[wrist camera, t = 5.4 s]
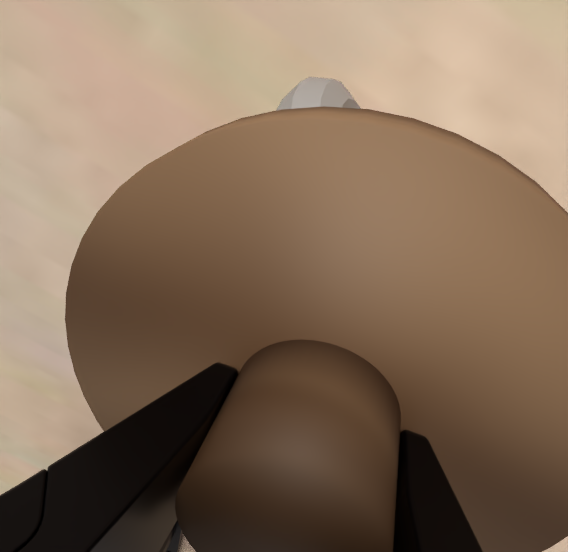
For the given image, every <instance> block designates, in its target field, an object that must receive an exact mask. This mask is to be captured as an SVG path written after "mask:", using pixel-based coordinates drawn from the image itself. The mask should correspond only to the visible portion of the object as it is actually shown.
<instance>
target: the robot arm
mask: <svg viewBox="0 0 568 552" xmlns="http://www.w3.org/2000/svg"><path fill="white" fill-rule="evenodd" d="M237 375H238V371H237V369H236V368H234V367H231V366H228V365H226V364H223V363H220V362H217V363H214V364H212V365H211V366H209V367H208V368H206V369H204V370H203V371H201V372H199V373H198V374H196V375H195V376H193V377H191V378H190V379H188V380H187V381H185V382H183V383H182V384H180V385H179V386H177V387H175V388H174V389H172V390H171V391H169V392H167V393H166V394H164V395H162V396H161V397H159V398H158V399H156V400H154V401H153V402H151V403H150V404H148V405H146V406H145V407H143V408H142V409H140V410H138V411H137V412H135V413H134V414H132V415H130V416H129V417H127V418H125V419H124V420H122V421H121V422H119V423H117V424H116V425H114V426H113V427H111V428H109V429H108V430H106V431H105V432H103V433H101V434H100V435H98V436H97V437H95V438H93V439H92V440H90V441H88V442H87V443H85V444H84V445H82V446H80V447H79V448H77V449H76V450H74V451H72V452H71V453H69V454H68V455H66V456H64V457H63V458H61V459H60V460H58V461H56V462H55V463H53V464H51V465H50V466H49V467H48V470H45V469H43V470H41V471H40V472H38V473H37V474H35V475H33V476H32V477H30V478H29V479H27V480H25V481H24V482H22V483H20V484H19V485H17V486H15V487H14V488H12V489H10V490H9V491H7V492H5V493H4V494H2V495H0V552H179V548H180V543H181V538H182V530H181V528H180V526H179V523H178V520H177V517H176V510H175V500H176V496H177V492H178V490H179V488H180V486H181V484H182V482H183V480H184V478H185V476H186V474H187V472H188V470H189V468H190V467H191V465H192V463H193V461H194V459H195V457H196V455H197V453H198V451H199V449H200V447H201V445H202V443H203V442H204V440H205V438H206V436H207V434H208V432H209V430H210V428H211V426H212V424H213V422H214V420H215V418H216V416H217V415H218V413H219V411H220V409H221V407H222V405H223V403H224V401H225V399H226V397H227V395H228V393H229V391H230V390H231V388H232V386H233V384H234V382H235V380H236V378H237ZM393 552H483V550H482V548H481V546H480V544H479V542H478V540H477V538H476V536H475V534H474V532H473V530H472V528H471V526H470V524H469V522H468V520H467V518H466V516H465V514H464V512H463V510H462V507H461V505H460V503H459V501H458V499H457V497H456V495H455V493H454V491H453V489H452V487H451V485H450V483H449V481H448V479H447V477H446V475H445V473H444V471H443V469H442V467H441V465H440V462H439V460H438V458H437V456H436V454H435V452H434V450H433V448H432V446H431V444H430V442H429V440H428V439H427V438H426V437H425V436H423V435H421V434H418V433H415V432H412V431H410V430H403V431H402V432H401V433H400V443H399V460H398V476H397V493H396V509H395V526H394V542H393Z"/></svg>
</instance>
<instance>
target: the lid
mask: <svg viewBox="0 0 568 552" xmlns="http://www.w3.org/2000/svg"><path fill="white" fill-rule="evenodd" d="M65 322H66V331H67V340H68V347H69V351H70V355H71V359H72V363H73V367H74V371H75V374H76V377H77V379H78V382H79V384H80V387H81V389H82V392H83V395H84V397H85V399H86V401H87V403H88V405H89V407H90V408H91V410H92V412H93V414H94V416H95V418H96V420H97V421H98V423H99V424H100V426H101V427H102V429H103V430H104V432H105V431H106V430H108V429H109V428H111V427H113V426H114V425H116V424H117V423H119V422H121V421H122V420H124V419H125V418H127V417H129V416H130V415H132V414H134V413H135V412H137V411H138V410H140V409H142V408H143V407H145V406H146V405H148V404H150V403H151V402H153V401H154V400H156V399H158V398H159V397H161V396H162V395H164V394H166V393H167V392H169V391H171V390H172V389H174V388H175V387H177V386H179V385H180V384H182V383H183V382H185V381H187V380H188V379H190V378H191V377H193V376H195V375H196V374H198V373H199V372H201V371H203V370H204V369H206V368H208V367H209V366H211V365H212V364H214V363H217V362H220V363H223V364H226V365H228V366H231V367H234V368H236V369H237V371H238V375H237V378H236V380H235V382H234V384H233V386H232V388H231V390H230V391H229V393H228V395H227V397H226V399H225V401H224V403H223V405H222V407H221V409H220V411H219V413H218V415H217V416H216V418H215V420H214V422H213V424H212V426H211V428H210V430H209V432H208V434H207V436H206V438H205V440H204V442H203V443H202V445H201V447H200V449H199V451H198V453H197V455H196V457H195V459H194V461H193V463H192V465H191V467H190V468H189V470H188V472H187V474H186V476H185V478H184V480H183V482H182V484H181V486H180V488H179V490H178V492H177V496H176V500H175V510H176V517H177V520H178V523H179V526H180V528H181V530H182V532H183V534H184V536H185V537H186V539H187V540H188V542H189V543H190V545H191V546H192V547H193V548H194V549H195V551H196V552H393V542H394V526H395V509H396V493H397V476H398V460H399V443H400V433H401V432H402V431H403V430H410V431H412V432H415V433H418V434H421V435H423V436H425V437H426V438H427V439H428V440H429V442H430V444H431V446H432V448H433V450H434V452H435V454H436V456H437V458H438V460H439V462H440V465H441V467H442V469H443V471H444V473H445V475H446V477H447V479H448V481H449V483H450V485H451V487H452V489H453V491H454V493H455V495H456V497H457V499H458V501H459V503H460V505H461V507H462V510H463V512H464V514H465V516H466V518H467V520H468V522H469V524H470V526H471V528H472V530H473V532H474V534H475V536H476V538H477V540H478V542H479V544H480V546H481V548H482V550H483V552H542V551H544V550H546V549H548V548H550V547H552V546H553V545H555V544H556V543H558V542H559V541H561V540H562V539H564V538H565V537H567V536H568V213H567V212H566V211H565V210H564V209H563V208H562V207H561V206H560V205H559V204H558V203H557V202H556V201H555V200H554V199H553V198H552V197H551V196H550V195H549V194H548V193H547V192H546V191H545V190H544V189H543V188H542V187H541V186H540V185H539V184H538V183H537V182H535V181H534V180H533V179H531V178H530V177H528V176H527V175H526V174H524V173H523V172H521V171H520V170H519V169H517V168H516V167H514V166H513V165H512V164H510V163H509V162H507V161H506V160H505V159H503V158H502V157H500V156H499V155H497V154H495V153H493V152H491V151H489V150H487V149H486V148H484V147H482V146H480V145H478V144H476V143H474V142H472V141H470V140H468V139H466V138H464V137H462V136H460V135H458V134H456V133H453V132H450V131H447V130H445V129H442V128H439V127H436V126H433V125H430V124H428V123H425V122H422V121H419V120H416V119H413V118H408V117H403V116H399V115H394V114H389V113H384V112H379V111H374V110H369V109H356V108H341V107H325V106H323V107H309V108H296V109H282V110H277V111H272V112H268V113H263V114H259V115H254V116H250V117H245V118H241V119H238V120H236V121H233V122H231V123H228V124H225V125H223V126H220V127H218V128H215V129H212V130H210V131H207V132H205V133H203V134H201V135H199V136H198V137H196V138H194V139H192V140H190V141H188V142H186V143H185V144H183V145H181V146H179V147H177V148H176V149H174V150H172V151H170V152H169V153H167V154H165V155H163V156H162V157H160V158H158V159H156V160H155V161H153V162H151V163H149V164H148V165H146V166H145V167H143V168H142V169H141V170H140V171H139V172H137V173H136V174H135V175H134V176H132V177H131V178H130V179H129V180H128V181H126V182H125V183H124V184H123V185H121V186H120V187H119V188H118V189H117V190H116V191H115V193H114V194H113V195H112V196H111V197H110V198H109V200H108V201H107V202H106V203H105V204H104V205H103V207H102V208H101V209H100V210H99V211H98V212H97V214H96V216H95V217H94V219H93V221H92V222H91V224H90V226H89V227H88V229H87V231H86V232H85V234H84V236H83V238H82V240H81V242H80V245H79V248H78V250H77V253H76V255H75V258H74V261H73V263H72V266H71V271H70V276H69V281H68V286H67V292H66V313H65Z"/></svg>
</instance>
